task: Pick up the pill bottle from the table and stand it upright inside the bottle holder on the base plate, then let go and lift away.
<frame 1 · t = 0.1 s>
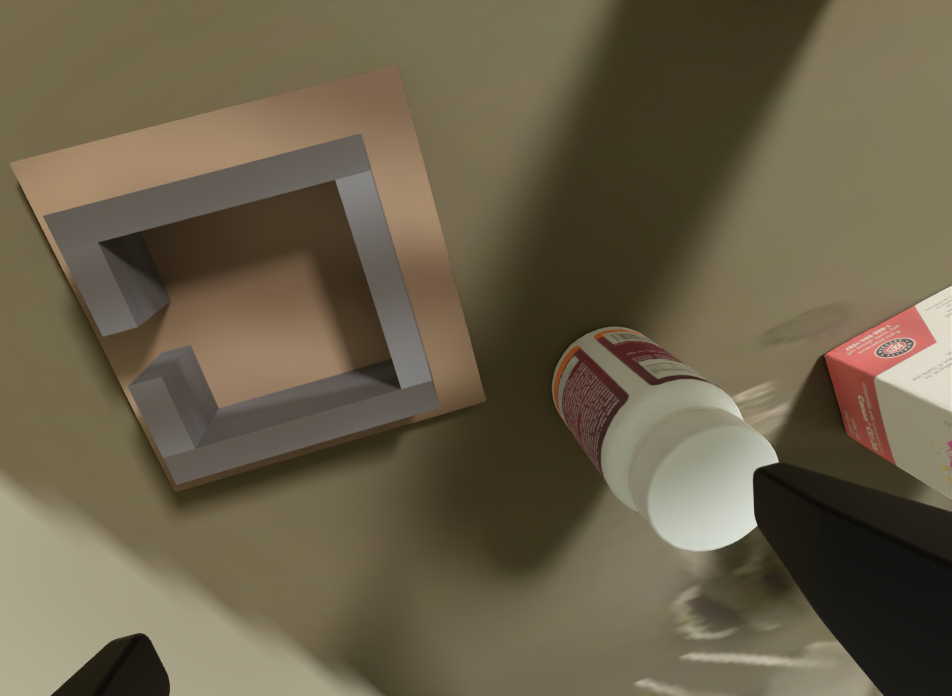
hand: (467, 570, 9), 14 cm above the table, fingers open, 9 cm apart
pill bottle: (604, 378, 25), on the table
white cardboard box: (915, 350, 27), on the table
bottle holder: (280, 291, 21), on the table
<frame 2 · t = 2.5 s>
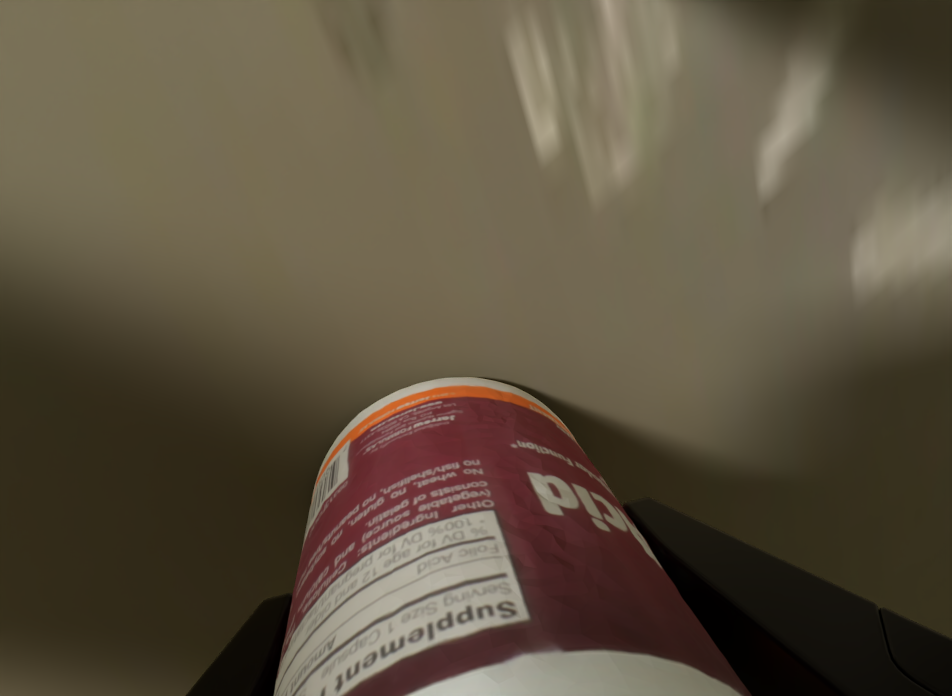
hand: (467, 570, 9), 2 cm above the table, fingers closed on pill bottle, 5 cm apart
pill bottle: (450, 487, 11), on the table, touching gripper
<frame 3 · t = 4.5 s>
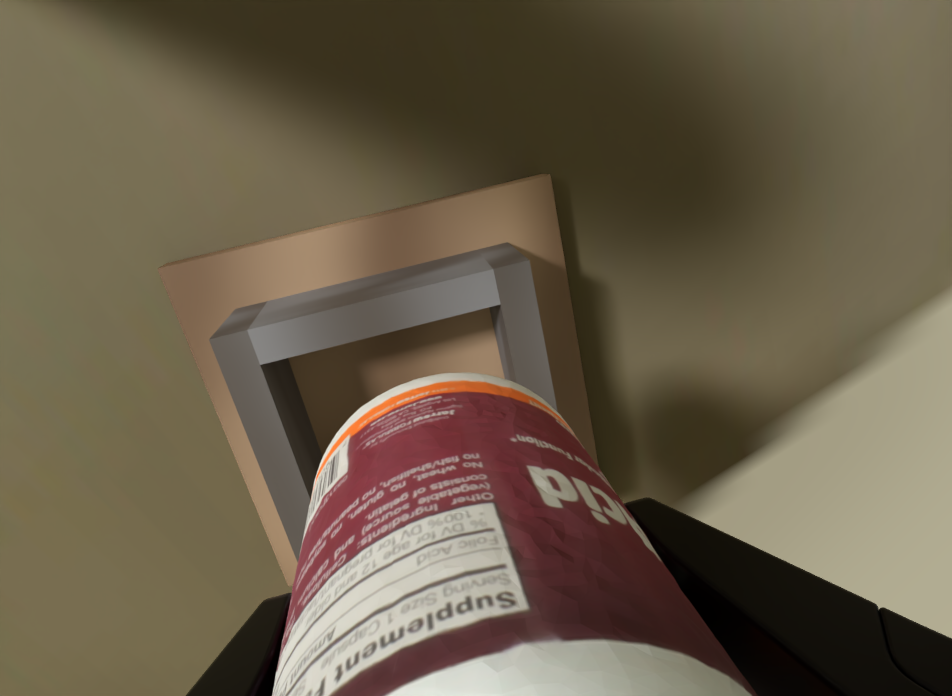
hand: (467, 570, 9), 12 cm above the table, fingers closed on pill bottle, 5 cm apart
pill bottle: (450, 483, 11), point 10 cm above the table, touching gripper
bottle holder: (407, 388, 21), on the table
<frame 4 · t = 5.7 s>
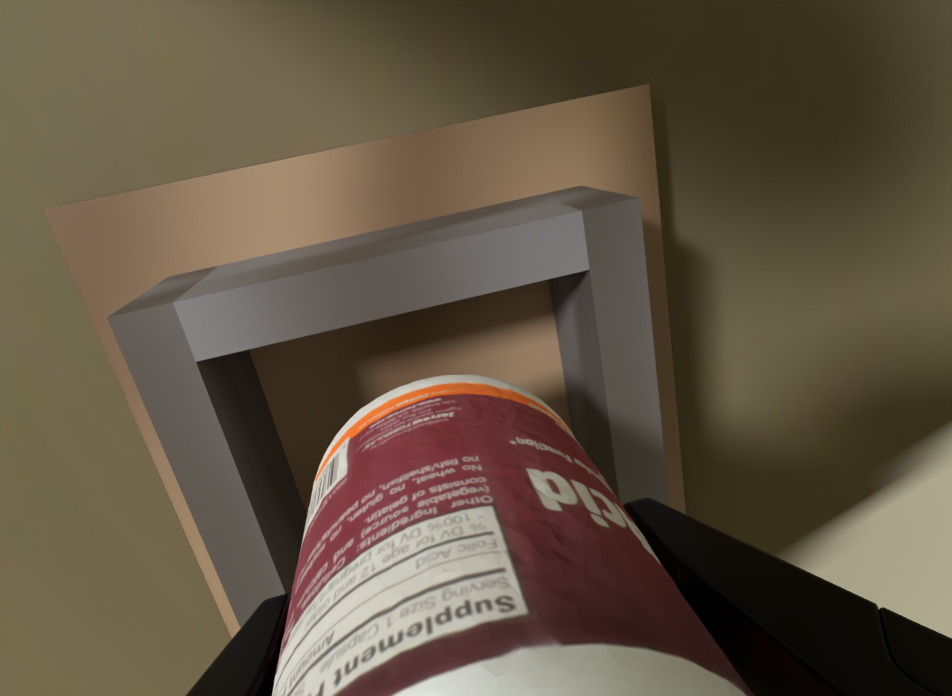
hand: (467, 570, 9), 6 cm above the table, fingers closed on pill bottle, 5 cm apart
pill bottle: (449, 484, 11), point 4 cm above the table, touching gripper
bottle holder: (424, 400, 15), on the table
when the fingers open (5 cm above the table, at t = 6.7 s): pill bottle drops 2 cm, resting on bottle holder.
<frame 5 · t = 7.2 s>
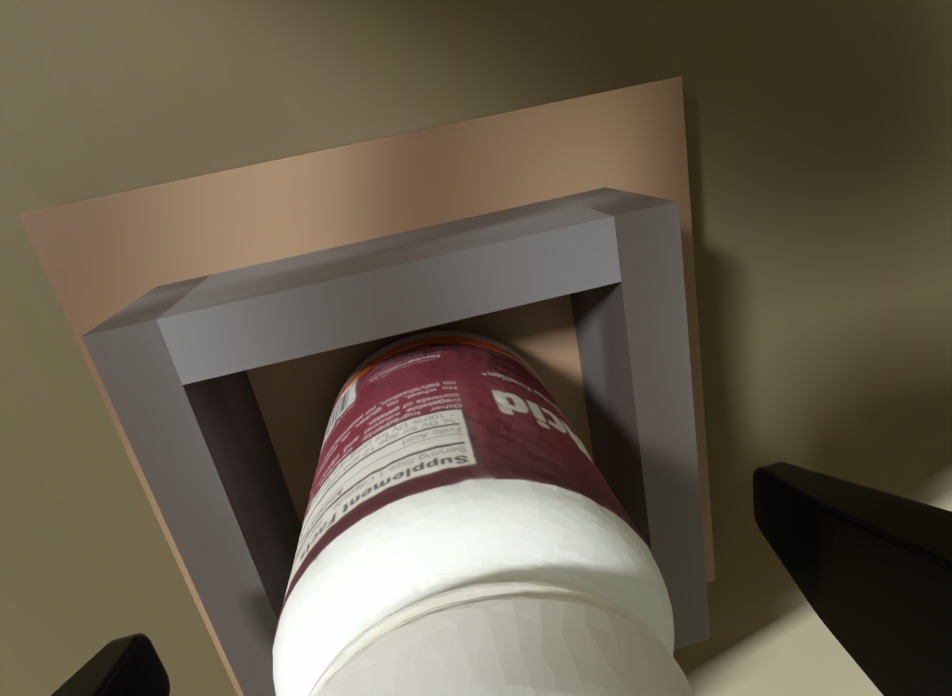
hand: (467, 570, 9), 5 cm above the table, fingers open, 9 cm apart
pill bottle: (441, 426, 13), point 1 cm above the table, touching bottle holder
bottle holder: (433, 417, 14), on the table
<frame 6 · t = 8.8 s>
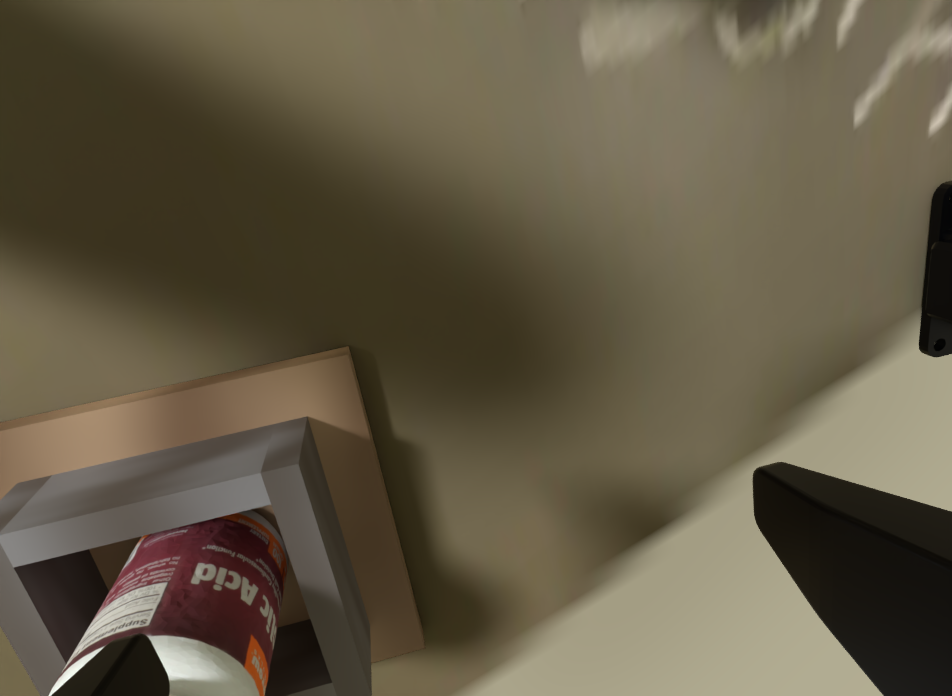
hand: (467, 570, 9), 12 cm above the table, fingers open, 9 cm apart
pill bottle: (215, 555, 20), point 1 cm above the table, touching bottle holder
bottle holder: (216, 546, 21), on the table
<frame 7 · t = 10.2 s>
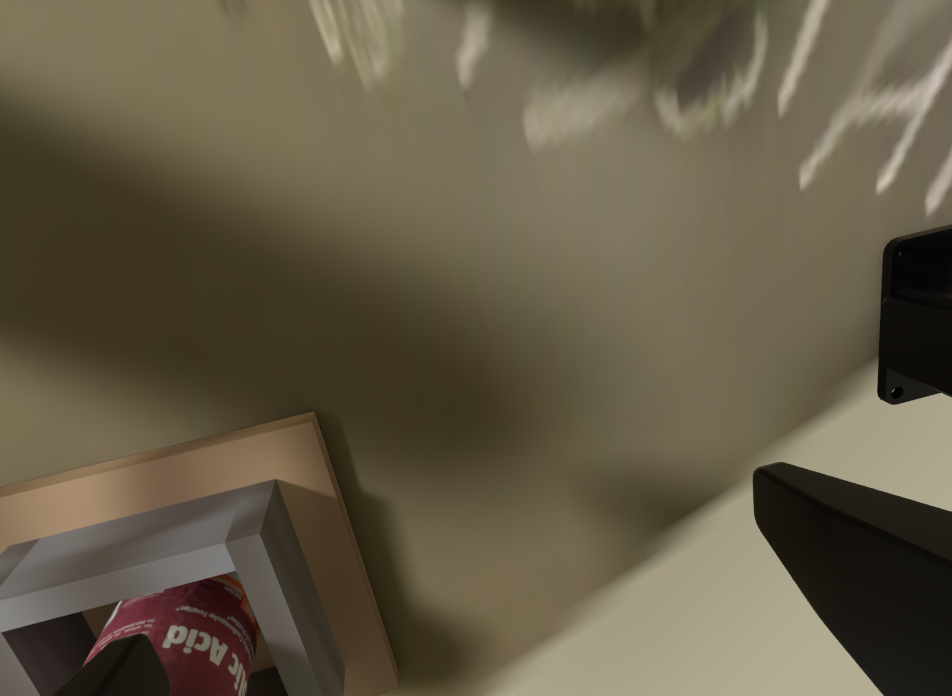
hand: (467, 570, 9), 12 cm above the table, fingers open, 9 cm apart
pill bottle: (196, 606, 21), point 1 cm above the table, touching bottle holder
bottle holder: (197, 596, 22), on the table
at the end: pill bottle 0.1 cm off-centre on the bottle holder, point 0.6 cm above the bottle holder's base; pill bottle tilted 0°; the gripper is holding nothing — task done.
